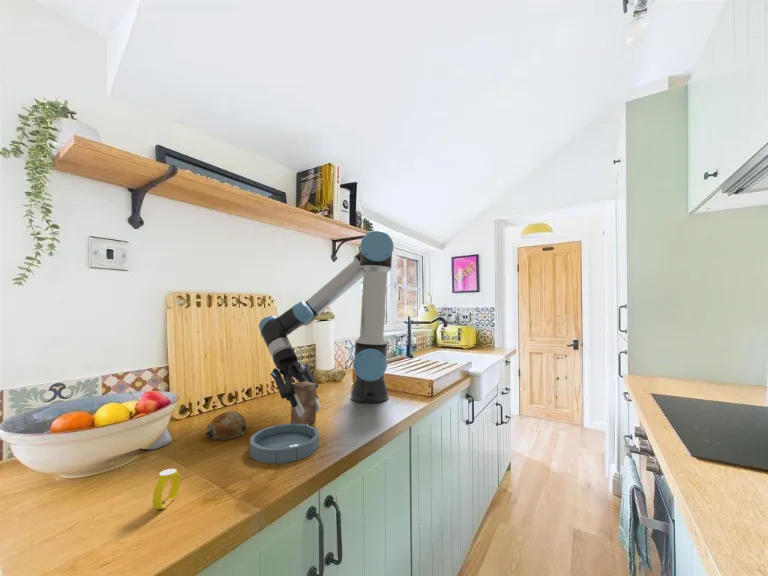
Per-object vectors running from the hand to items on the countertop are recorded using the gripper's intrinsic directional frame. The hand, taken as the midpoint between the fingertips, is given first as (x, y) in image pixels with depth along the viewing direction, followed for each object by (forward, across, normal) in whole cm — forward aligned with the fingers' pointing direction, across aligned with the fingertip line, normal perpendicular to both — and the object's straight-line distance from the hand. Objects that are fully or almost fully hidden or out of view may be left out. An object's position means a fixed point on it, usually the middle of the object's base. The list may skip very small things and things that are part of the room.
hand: (310, 412), depth 100 cm
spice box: (0, 0, -5) cm, 5 cm away
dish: (+9, +14, +3) cm, 17 cm away
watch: (+12, +42, +6) cm, 44 cm away
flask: (-10, +36, -16) cm, 41 cm away
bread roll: (-5, +20, -11) cm, 24 cm away
